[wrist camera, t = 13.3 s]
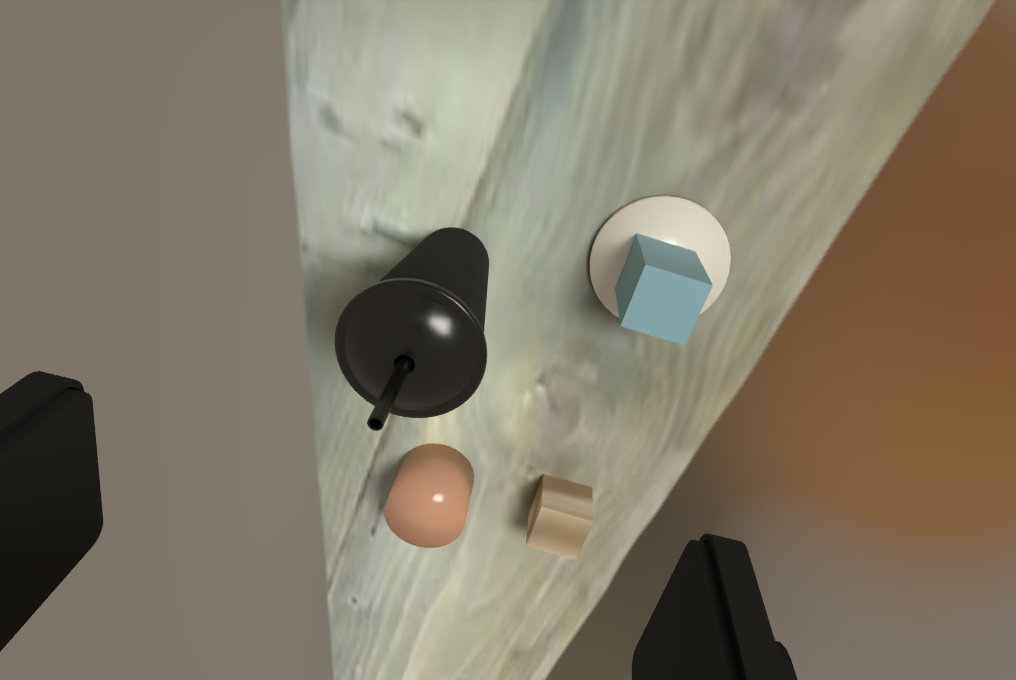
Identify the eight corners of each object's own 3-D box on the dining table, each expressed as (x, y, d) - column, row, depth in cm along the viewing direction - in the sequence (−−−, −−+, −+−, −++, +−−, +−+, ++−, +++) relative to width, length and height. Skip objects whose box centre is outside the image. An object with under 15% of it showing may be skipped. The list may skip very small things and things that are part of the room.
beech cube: (543, 473, 52) (541, 506, 49) (592, 487, 52) (593, 521, 49) (529, 510, 54) (526, 545, 50) (575, 524, 54) (576, 559, 51)
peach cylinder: (408, 434, 52) (393, 474, 47) (482, 455, 52) (474, 497, 48) (393, 492, 54) (377, 535, 50) (464, 512, 55) (454, 556, 50)
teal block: (636, 233, 42) (645, 264, 37) (695, 251, 43) (712, 285, 37) (614, 288, 44) (620, 326, 39) (671, 305, 44) (684, 345, 39)
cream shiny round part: (617, 176, 42) (617, 179, 41) (752, 219, 42) (754, 221, 41) (571, 303, 46) (571, 306, 45) (695, 340, 46) (696, 344, 45)
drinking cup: (460, 334, 47) (392, 526, 30) (376, 263, 46) (249, 423, 28) (533, 260, 45) (506, 424, 27) (446, 182, 43) (355, 301, 25)
